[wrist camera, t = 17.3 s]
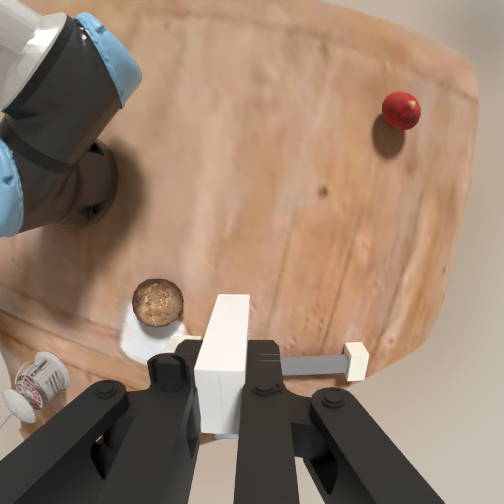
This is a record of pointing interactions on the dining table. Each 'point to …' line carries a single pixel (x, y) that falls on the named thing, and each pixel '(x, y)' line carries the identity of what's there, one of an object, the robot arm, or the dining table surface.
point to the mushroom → (157, 302)
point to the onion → (401, 110)
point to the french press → (27, 396)
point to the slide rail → (311, 360)
